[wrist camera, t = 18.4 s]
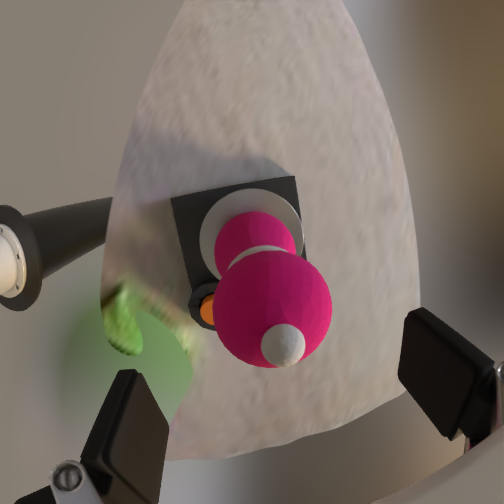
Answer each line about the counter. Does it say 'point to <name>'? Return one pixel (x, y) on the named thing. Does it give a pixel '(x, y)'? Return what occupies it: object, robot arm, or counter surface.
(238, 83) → the counter surface
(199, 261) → the scale
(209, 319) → the button
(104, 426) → the robot arm
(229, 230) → the pepper mill
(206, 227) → the weighing plate
